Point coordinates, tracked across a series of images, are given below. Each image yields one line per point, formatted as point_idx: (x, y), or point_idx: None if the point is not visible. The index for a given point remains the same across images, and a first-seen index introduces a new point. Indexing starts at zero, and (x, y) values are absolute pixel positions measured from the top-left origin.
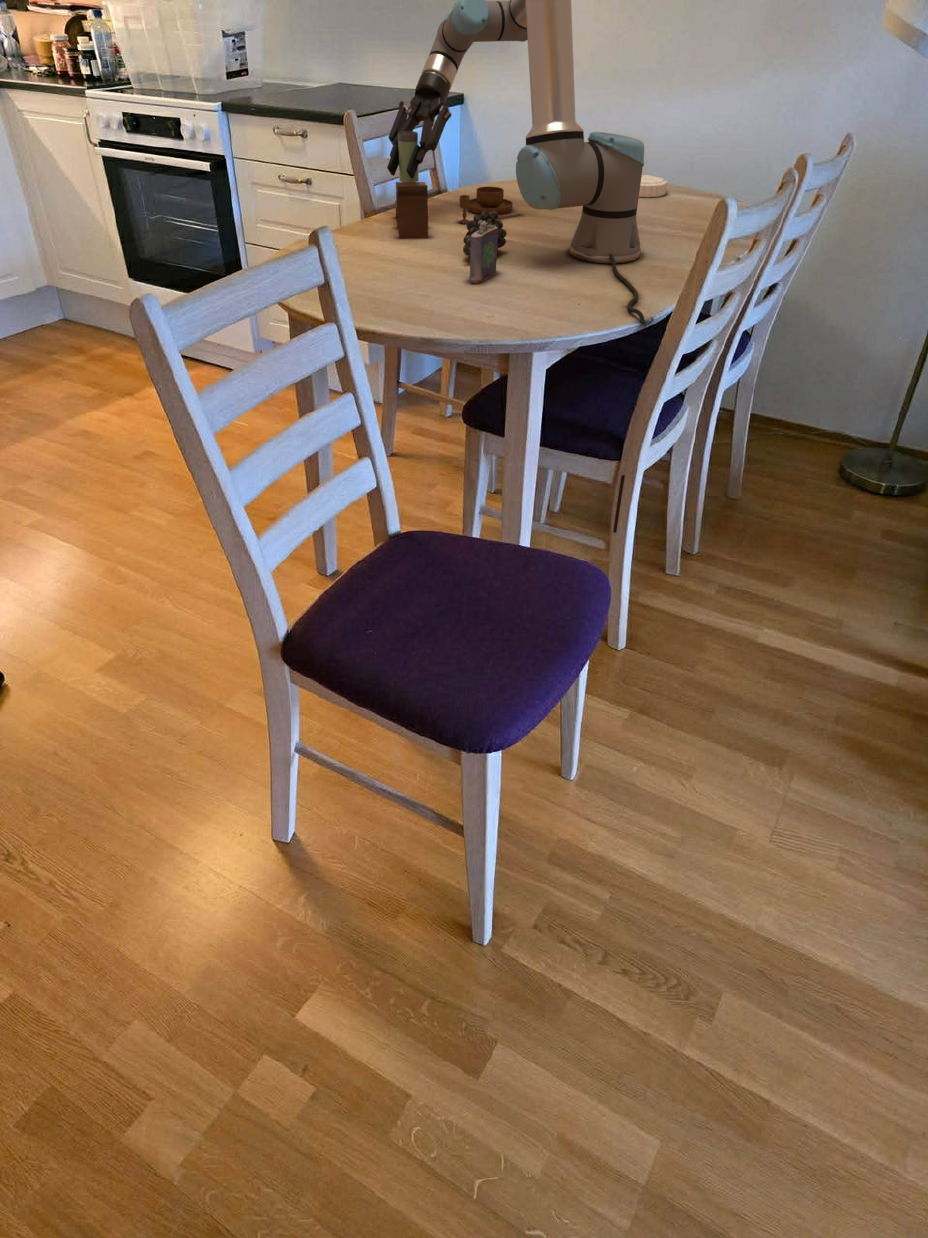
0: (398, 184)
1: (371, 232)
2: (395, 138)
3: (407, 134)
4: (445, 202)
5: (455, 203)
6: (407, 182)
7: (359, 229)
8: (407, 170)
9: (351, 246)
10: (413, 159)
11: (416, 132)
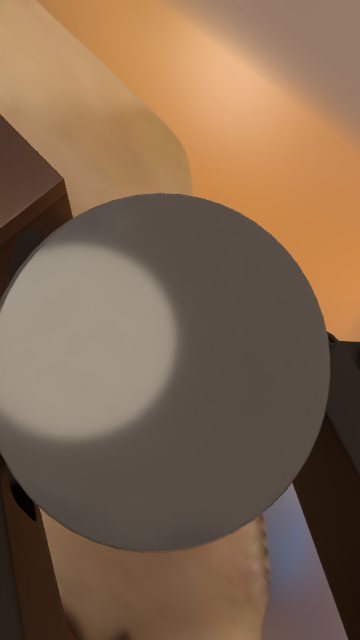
0: (7, 138)
1: (106, 169)
2: (336, 351)
3: (68, 230)
4: (196, 613)
5: (162, 636)
6: (3, 208)
7: (156, 176)
8: (29, 231)
9: (40, 20)
10: (8, 279)
11: (98, 518)
